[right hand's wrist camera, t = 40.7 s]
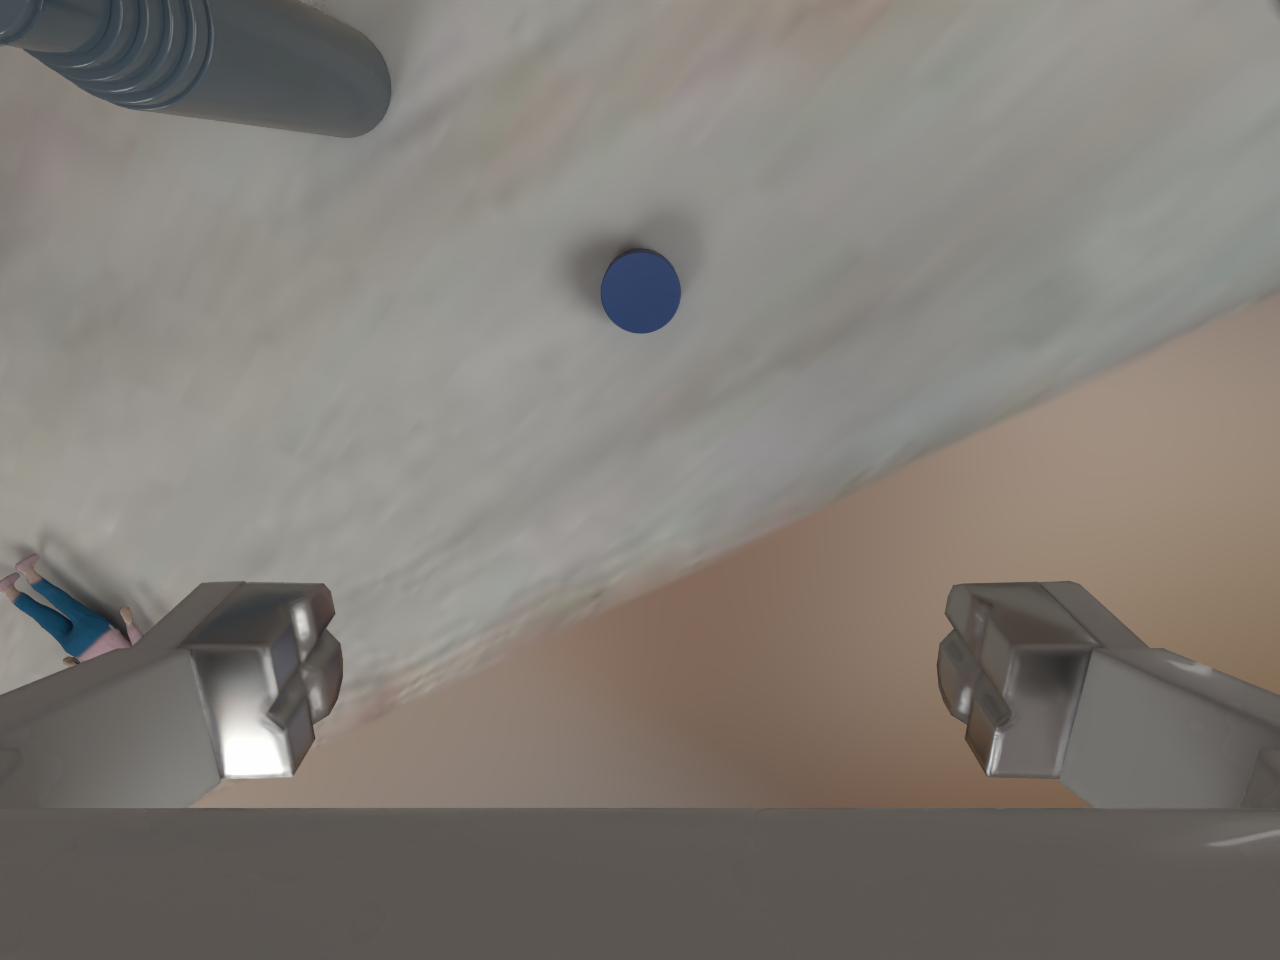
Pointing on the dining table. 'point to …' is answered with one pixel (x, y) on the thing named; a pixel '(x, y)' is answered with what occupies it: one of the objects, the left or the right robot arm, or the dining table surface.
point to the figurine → (86, 627)
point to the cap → (640, 291)
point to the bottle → (210, 59)
